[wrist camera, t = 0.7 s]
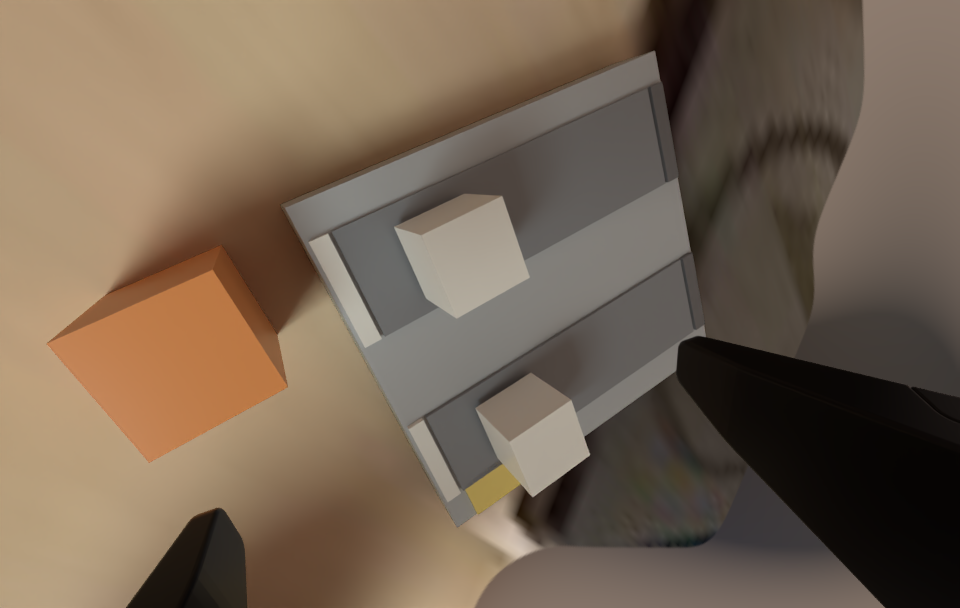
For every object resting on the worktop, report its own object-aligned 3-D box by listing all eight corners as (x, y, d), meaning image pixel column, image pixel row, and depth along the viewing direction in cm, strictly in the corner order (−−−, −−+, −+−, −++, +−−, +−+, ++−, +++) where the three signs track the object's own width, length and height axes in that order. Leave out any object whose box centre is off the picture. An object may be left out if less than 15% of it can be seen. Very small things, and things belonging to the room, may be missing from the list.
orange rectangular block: (277, 334, 19) (288, 387, 14) (175, 386, 18) (149, 462, 13) (221, 244, 17) (212, 269, 12) (106, 294, 16) (46, 343, 11)
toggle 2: (549, 422, 22) (589, 454, 20) (497, 458, 21) (532, 497, 19) (530, 372, 21) (571, 399, 18) (475, 408, 20) (509, 441, 18)
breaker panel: (673, 335, 29) (711, 349, 27) (438, 496, 24) (459, 531, 22) (615, 63, 23) (659, 49, 20) (279, 204, 18) (285, 208, 15)
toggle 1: (490, 264, 19) (529, 277, 16) (426, 298, 18) (456, 318, 15) (464, 193, 18) (502, 195, 15) (393, 226, 17) (420, 235, 14)
